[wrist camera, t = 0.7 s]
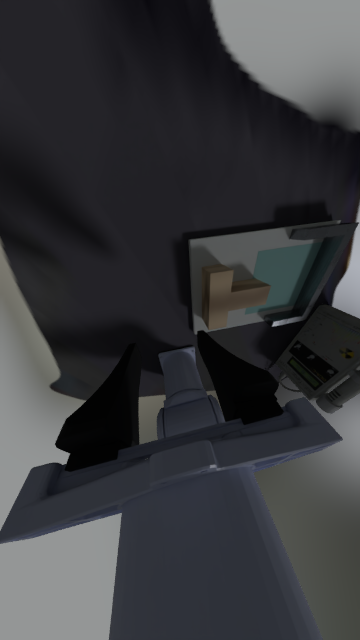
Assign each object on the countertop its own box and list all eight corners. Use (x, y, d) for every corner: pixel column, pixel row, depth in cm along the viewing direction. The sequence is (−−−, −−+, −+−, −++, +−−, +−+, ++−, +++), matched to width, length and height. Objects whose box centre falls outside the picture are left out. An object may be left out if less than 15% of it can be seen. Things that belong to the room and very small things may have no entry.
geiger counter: (422, 351, 18) (304, 426, 31) (448, 349, 19) (324, 422, 33) (316, 303, 29) (263, 374, 43) (337, 304, 30) (280, 372, 44)
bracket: (294, 313, 28) (305, 319, 26) (263, 319, 27) (271, 326, 25) (337, 223, 19) (359, 222, 17) (292, 229, 18) (309, 229, 16)
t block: (248, 309, 25) (260, 320, 22) (201, 318, 24) (208, 330, 21) (259, 258, 20) (278, 263, 17) (201, 266, 19) (210, 273, 16)
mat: (291, 312, 29) (295, 314, 28) (193, 331, 27) (194, 334, 26) (333, 220, 20) (341, 220, 19) (188, 239, 18) (190, 240, 17)
